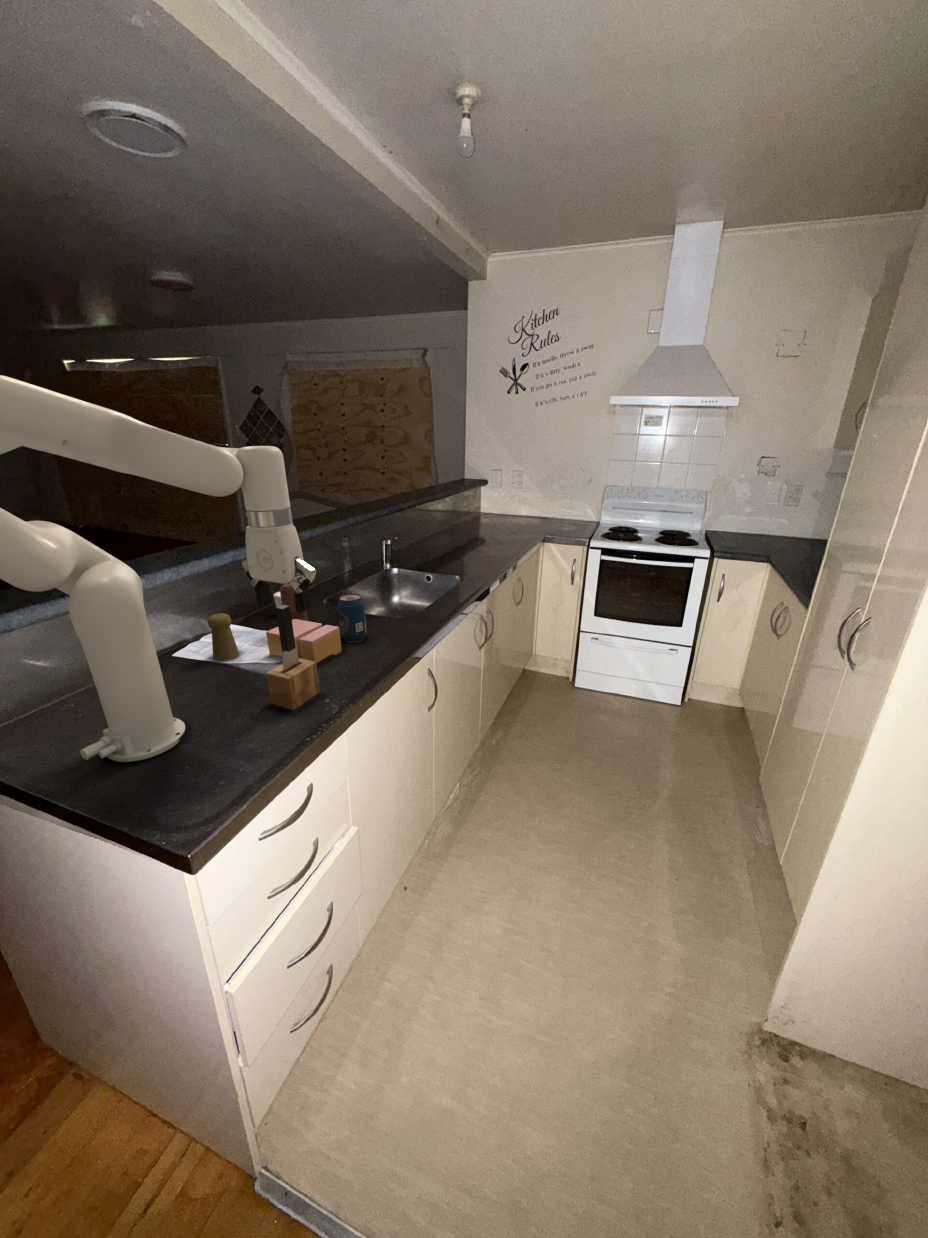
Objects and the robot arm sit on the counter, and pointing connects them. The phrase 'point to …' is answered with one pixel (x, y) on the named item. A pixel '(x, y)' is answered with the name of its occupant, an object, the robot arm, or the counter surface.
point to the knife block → (293, 684)
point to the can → (291, 601)
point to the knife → (287, 638)
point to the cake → (299, 631)
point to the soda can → (352, 618)
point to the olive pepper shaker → (222, 637)
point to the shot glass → (277, 599)
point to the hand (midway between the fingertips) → (284, 607)
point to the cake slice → (320, 643)
